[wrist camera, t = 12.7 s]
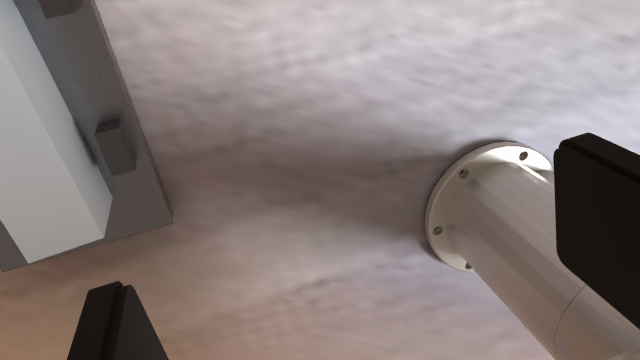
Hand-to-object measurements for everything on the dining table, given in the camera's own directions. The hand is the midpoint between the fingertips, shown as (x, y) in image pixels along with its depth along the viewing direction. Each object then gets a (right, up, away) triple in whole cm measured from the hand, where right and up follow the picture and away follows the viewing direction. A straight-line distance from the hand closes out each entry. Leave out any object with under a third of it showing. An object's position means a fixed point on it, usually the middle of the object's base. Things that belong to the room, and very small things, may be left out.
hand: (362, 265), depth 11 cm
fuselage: (-19, +8, +20) cm, 29 cm away
